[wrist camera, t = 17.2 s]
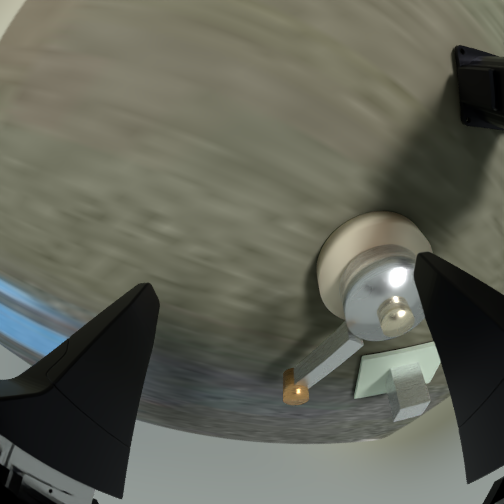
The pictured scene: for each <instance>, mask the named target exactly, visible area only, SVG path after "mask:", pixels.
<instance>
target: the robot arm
mask: <svg viewBox="0 0 504 504" xmlns="http://www.w3.org/2000/svg"><path fill="white" fill-rule="evenodd" d="M460 49H461V51H462V54H461V53H460ZM455 56H456V63H457V73H458V82H459V94H460V106H461V121H462V123H463V124H464V125H467V126H472V127H481V128H490V129H497V130H504V57H499V56H496V55H493V54H490V53H487V52H483V51H480V50H477V49H473V48H469V47H466V46H462V45H459V46H455ZM466 118H468V121H467V122H466ZM413 276H414V282H415V285H416V288H417V291H418V295H419V298H420V302H421V305H422V309H423V312H424V316H425V319H426V321H427V324H428V327H429V330H430V332H431V335H432V338H433V341H434V343H435V346H436V349H437V352H438V355H439V358H440V361H441V364H442V367H443V371H444V374H445V377H446V381H447V384H448V388H449V391H450V395H451V399H452V403H453V407H454V410H455V415H456V419H457V424H458V427H459V434H460V440H461V445H462V451H463V457H464V463H465V471H466V480H467V484H470V483H472V482H474V481H476V480H478V479H480V478H482V477H484V476H486V475H488V474H490V473H491V472H493V471H495V470H497V469H499V468H500V467H502V466H504V295H503V294H501V293H500V292H498V291H496V290H495V289H493V288H492V287H490V286H488V285H487V284H485V283H483V282H482V281H480V280H479V279H477V278H475V277H473V276H472V275H470V274H468V273H467V272H465V271H463V270H461V269H460V268H458V267H456V266H454V265H453V264H451V263H449V262H447V261H446V260H444V259H442V258H440V257H438V256H436V255H435V254H433V253H431V252H428V251H427V252H420V253H418V254H417V256H416V262H415V268H414V274H413ZM159 308H160V303H159V299H158V297H157V295H156V293H155V291H154V289H153V287H152V285H151V284H150V283H140V284H138V285H136V286H135V287H134V288H132V289H131V290H130V291H128V292H127V293H126V294H124V295H123V296H122V297H120V298H119V299H118V300H116V301H115V302H114V303H113V304H111V305H110V306H109V307H107V308H106V309H105V310H103V311H102V312H101V313H100V314H98V315H97V316H96V317H94V318H93V319H92V320H91V321H89V322H88V323H87V324H86V325H84V326H83V327H82V328H81V329H79V330H78V331H77V332H76V333H74V334H73V335H72V336H71V337H70V338H68V339H67V340H66V341H64V342H63V343H62V344H61V345H59V346H58V347H57V348H56V349H54V350H53V351H52V352H50V353H49V354H48V355H46V356H45V357H44V358H42V359H41V360H40V361H38V362H37V363H36V364H34V365H33V366H32V367H30V368H29V369H28V370H26V371H25V372H23V373H22V374H21V375H19V376H17V377H15V378H12V379H8V380H0V504H98V502H97V500H96V499H94V498H93V496H94V492H95V489H96V490H98V491H101V492H103V493H106V494H108V495H111V496H113V497H116V498H119V499H122V497H123V492H124V485H125V478H126V471H127V465H128V459H129V453H130V446H131V441H132V436H133V431H134V425H135V421H136V416H137V411H138V406H139V402H140V397H141V393H142V388H143V384H144V380H145V376H146V372H147V368H148V363H149V360H150V356H151V352H152V348H153V343H154V338H155V332H156V326H157V319H158V313H159ZM483 504H504V476H503V477H502V478H500V479H498V480H497V481H495V482H494V484H493V486H492V488H491V489H490V491H489V493H488V495H487V497H486V499H485V500H484V502H483Z"/></svg>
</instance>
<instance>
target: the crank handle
mask: <svg viewBox="0 0 504 504" xmlns="http://www.w3.org/2000/svg"><path fill="white" fill-rule="evenodd" d="M415 262H416V255H415V254H414V253H413V252H412V251H411V250H409V249H408V248H406V247H403V246H400V245H394V244H387V245H380V246H377V247H374V248H371V249H369V250H367V251H365V252H363V253H362V254H360V255H359V256H357V257H356V258H355V259H354V260H353V261H352V262H351V263H350V264H349V265H348V266H347V268H346V269H345V271H344V273H343V274H342V277H341V279H340V283H339V294H340V298H341V302H342V306H343V310H344V315H345V319H346V321H344V322H343V323H342V324H341V325H340V326H339V327H338V328H337V329H336V330H335V331H334V332H333V333H332V334H331V335H330V336H329V337H328V338H327V339H326V340H324V341H323V342H322V343H321V344H320V345H319V346H318V347H317V348H316V349H315V350H314V351H312V352H311V353H310V354H309V355H308V356H307V357H306V358H304V359H303V360H302V361H301V362H300V363H299V364H298V365H296V366H295V367H294V368H290V369H288V370H286V371H285V372H284V373H283V402H284V403H286V404H288V405H301V404H304V403H306V402H307V401H308V400H309V392H308V389H309V388H310V387H311V386H313V385H314V384H316V383H317V382H318V381H320V380H321V379H322V378H324V377H325V376H326V375H328V374H329V373H330V372H331V371H333V370H334V369H335V368H337V367H338V366H339V365H340V364H342V363H343V362H344V361H345V360H347V359H348V358H349V357H350V356H351V355H353V354H354V353H355V352H356V351H357V350H359V349H360V348H361V347H362V346H363V345H364V343H363V339H364V340H369V341H383V340H388V339H392V338H395V337H398V336H400V335H403V334H405V333H407V332H408V331H410V330H411V329H413V328H414V327H415V326H417V325H418V324H419V323H420V322H421V321H422V320H423V319H424V318H425V316H424V312H423V309H422V305H421V302H420V298H419V295H418V291H417V288H416V285H415V282H414V276H413V274H414V268H415Z"/></svg>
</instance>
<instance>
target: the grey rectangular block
mask: <svg viewBox="0 0 504 504" xmlns="http://www.w3.org/2000/svg"><path fill="white" fill-rule="evenodd" d="M385 386H386V391H387V395H388V399H389V404H390V409H391V414H392V419H393V422H395V421H399V420H403V419H407V418H411V417H414V416H418V415H421V414H422V413H423V412H424V410H425V409H426V407H427V406H428V404H429V403H430V401H431V399H430V396H429V393H428V389H427V386H426V383H425V380H424V377H423V374H422V371H421V368H420V365H419V362H416V363H412V364H408V365H403V366H399V367H394V368H390V371H389V374H388V377H387V380H386V382H385Z"/></svg>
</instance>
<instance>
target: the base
mask: <svg viewBox="0 0 504 504" xmlns="http://www.w3.org/2000/svg"><path fill="white" fill-rule="evenodd" d="M387 244H394V245H400V246H403V247H406V248H408V249H409V250H411V251H412V252H413V253H414V254H415V255H416V256H417V254H418V253H420V252H427V251H428V252H431V253H433V251H432V248H431V246H430V244H429V242H428V240H427V239H426V238H425V236H424V235H423V234H422V232H421V231H420V230H419V229H418V228H417V226H416V225H415V224H414V223H413V222H412V221H411V220H409V219H408V218H406V217H405V216H403V215H400V214H398V213H394V212H388V211H375V212H369V213H365V214H362V215H359V216H357V217H354V218H352V219H350V220H349V221H347V222H345V223H344V224H342V225H341V226H340V227H338V228H337V229H336V230H335V231H334V232H333V233H332V234H331V235H330V237H329V238H328V239H327V241H326V242H325V244H324V245H323V247H322V249H321V251H320V254H319V257H318V260H317V279H318V285H319V290H320V295H321V298H322V301H323V303H324V304H325V306H326V307H327V308H328V310H329V311H330V312H332V313H333V314H334V315H336V316H337V317H339V318H341V319H343V320H346V319H345V315H344V310H343V306H342V302H341V298H340V294H339V283H340V279H341V277H342V274H343V273H344V271H345V269H346V268H347V266H348V265H349V264H350V263H351V262H352V261H353V260H354V259H355V258H356V257H357V256H359V255H360V254H362V253H363V252H365V251H367V250H369V249H371V248H374V247H377V246H380V245H387Z"/></svg>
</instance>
